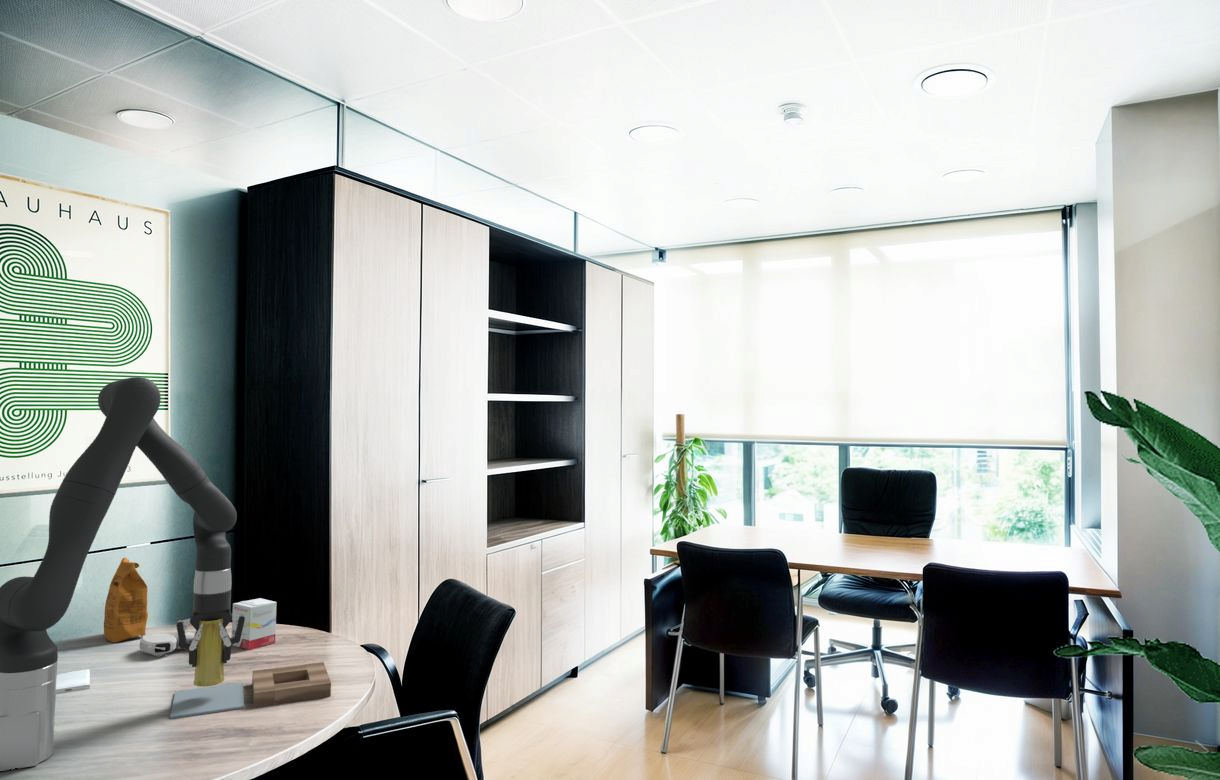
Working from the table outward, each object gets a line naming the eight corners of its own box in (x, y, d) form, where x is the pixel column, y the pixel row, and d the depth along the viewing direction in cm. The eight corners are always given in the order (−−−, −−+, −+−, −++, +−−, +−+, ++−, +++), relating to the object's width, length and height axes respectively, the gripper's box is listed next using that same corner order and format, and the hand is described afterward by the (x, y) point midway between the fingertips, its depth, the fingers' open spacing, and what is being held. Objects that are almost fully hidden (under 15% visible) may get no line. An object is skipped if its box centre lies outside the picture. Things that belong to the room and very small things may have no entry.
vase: (217, 675, 172) (219, 613, 172) (229, 681, 168) (231, 617, 169) (188, 682, 167) (191, 618, 168) (200, 689, 163) (203, 623, 164)
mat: (243, 708, 163) (243, 706, 163) (169, 718, 157) (170, 716, 157) (242, 684, 178) (242, 682, 178) (175, 693, 171) (175, 691, 171)
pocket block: (330, 695, 172) (331, 682, 172) (253, 706, 164) (254, 693, 164) (323, 674, 186) (323, 662, 186) (252, 683, 179) (252, 670, 179)
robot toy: (195, 644, 212) (133, 650, 201) (196, 627, 212) (136, 633, 202) (207, 654, 203) (144, 661, 192) (209, 637, 203) (146, 643, 193)
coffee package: (139, 629, 222) (142, 554, 223) (149, 638, 213) (152, 560, 214) (99, 635, 215) (102, 558, 216) (108, 645, 206) (111, 565, 207)
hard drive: (48, 674, 179) (46, 690, 169) (90, 668, 184) (90, 683, 174) (48, 681, 179) (45, 697, 169) (89, 675, 184) (89, 690, 174)
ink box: (276, 643, 211) (277, 600, 211) (248, 650, 203) (249, 606, 204) (258, 637, 215) (259, 596, 216) (229, 645, 208) (231, 602, 208)
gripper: (174, 595, 162) (171, 674, 161) (248, 589, 168) (245, 665, 168) (177, 588, 168) (174, 663, 168) (247, 582, 175) (244, 655, 174)
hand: (209, 663), depth 168 cm, fingers closed on vase, 5 cm apart
